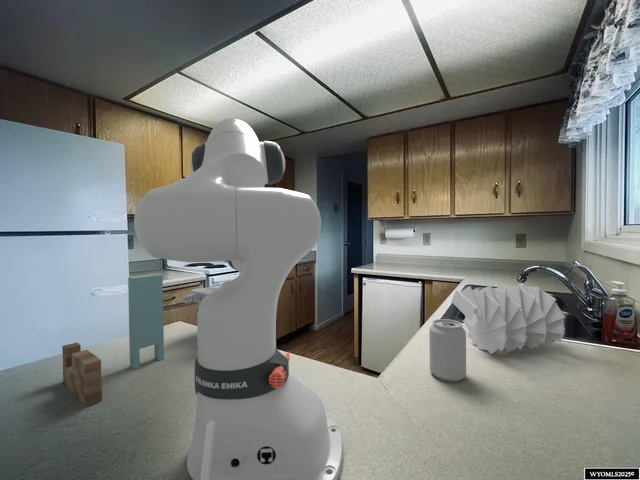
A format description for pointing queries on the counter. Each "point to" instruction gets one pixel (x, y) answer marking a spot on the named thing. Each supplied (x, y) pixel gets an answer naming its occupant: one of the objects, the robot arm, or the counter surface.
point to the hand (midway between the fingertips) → (192, 302)
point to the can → (447, 350)
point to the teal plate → (145, 316)
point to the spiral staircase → (510, 317)
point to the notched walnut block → (82, 373)
